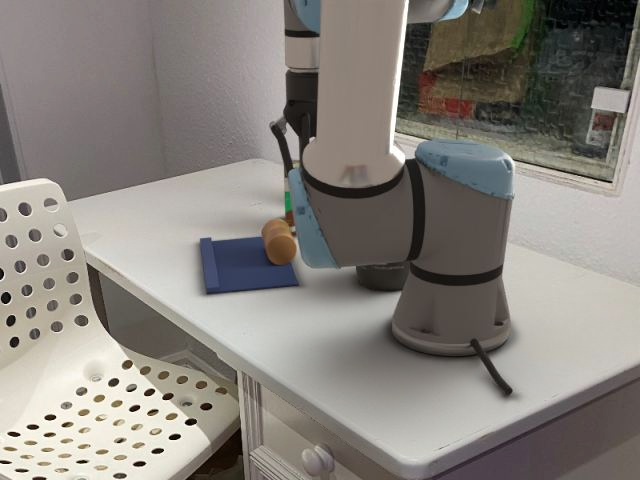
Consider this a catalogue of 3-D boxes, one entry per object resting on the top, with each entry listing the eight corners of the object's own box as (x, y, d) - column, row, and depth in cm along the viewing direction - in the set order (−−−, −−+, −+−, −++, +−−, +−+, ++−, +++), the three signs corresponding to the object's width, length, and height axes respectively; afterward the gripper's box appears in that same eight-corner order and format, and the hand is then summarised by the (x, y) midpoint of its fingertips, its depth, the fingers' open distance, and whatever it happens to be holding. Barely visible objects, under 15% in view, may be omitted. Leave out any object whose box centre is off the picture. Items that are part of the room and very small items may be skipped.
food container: (321, 237, 139) (321, 177, 133) (285, 239, 140) (283, 179, 134) (318, 214, 149) (318, 156, 143) (285, 215, 150) (283, 158, 143)
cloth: (298, 285, 124) (298, 279, 123) (207, 294, 123) (206, 288, 123) (280, 236, 141) (280, 230, 141) (200, 243, 141) (199, 238, 140)
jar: (424, 268, 126) (428, 218, 121) (417, 294, 119) (420, 242, 114) (360, 265, 129) (361, 216, 124) (349, 290, 121) (349, 239, 116)
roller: (285, 270, 130) (302, 245, 128) (260, 255, 129) (277, 229, 126) (279, 253, 137) (295, 228, 135) (255, 238, 135) (271, 213, 133)
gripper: (351, 59, 120) (349, 220, 134) (263, 66, 119) (270, 227, 134) (361, 68, 114) (358, 236, 129) (269, 76, 113) (276, 243, 128)
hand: (313, 231), depth 131 cm, fingers closed
